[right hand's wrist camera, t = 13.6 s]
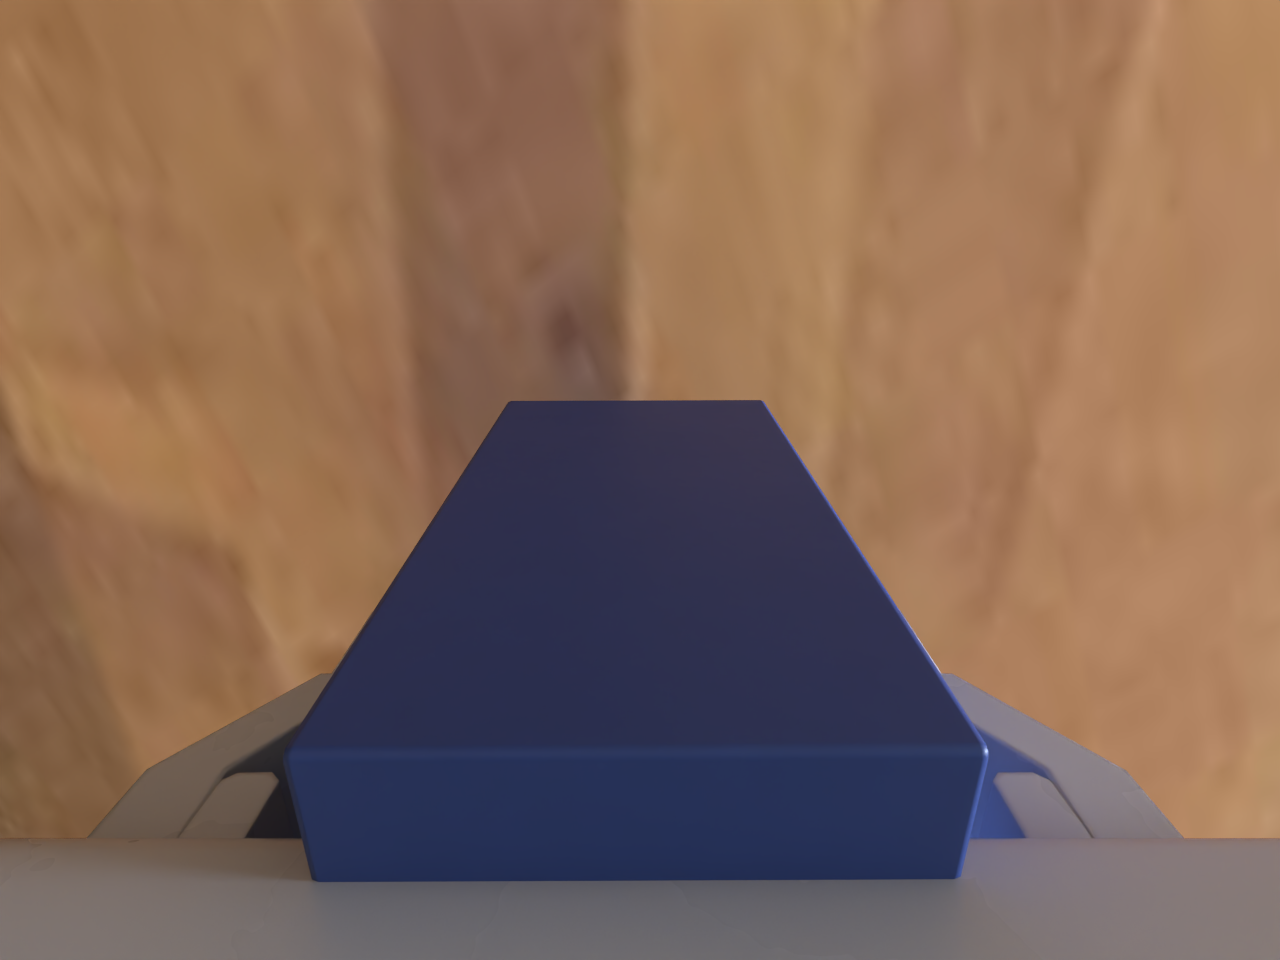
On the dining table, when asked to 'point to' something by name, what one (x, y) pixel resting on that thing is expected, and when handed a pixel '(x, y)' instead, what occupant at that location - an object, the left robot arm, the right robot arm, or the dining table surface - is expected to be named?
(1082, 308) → the dining table surface
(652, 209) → the dining table surface
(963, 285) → the dining table surface
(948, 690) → the bar
